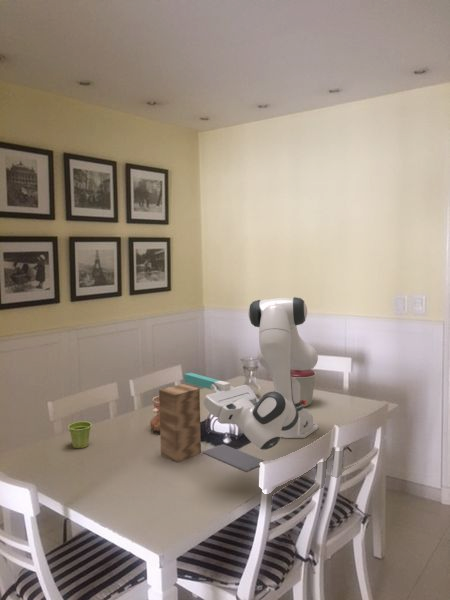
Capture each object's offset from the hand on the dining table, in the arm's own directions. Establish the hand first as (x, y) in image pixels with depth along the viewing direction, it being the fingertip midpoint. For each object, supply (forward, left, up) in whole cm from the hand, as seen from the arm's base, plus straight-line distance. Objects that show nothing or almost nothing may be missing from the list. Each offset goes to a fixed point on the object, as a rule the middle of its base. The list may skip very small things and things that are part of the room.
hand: (217, 384), depth 177 cm
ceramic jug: (-13, -48, -32) cm, 59 cm away
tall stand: (0, -22, -32) cm, 39 cm away
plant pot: (+24, -58, -32) cm, 71 cm away
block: (0, -6, -2) cm, 6 cm away
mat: (-12, -4, -32) cm, 35 cm away
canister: (-81, -28, -32) cm, 92 cm away
